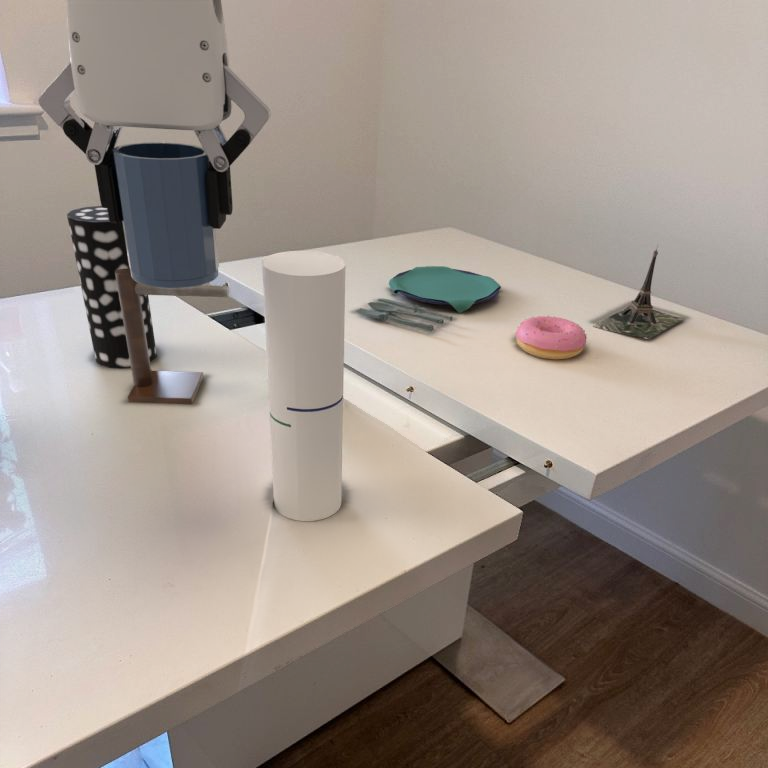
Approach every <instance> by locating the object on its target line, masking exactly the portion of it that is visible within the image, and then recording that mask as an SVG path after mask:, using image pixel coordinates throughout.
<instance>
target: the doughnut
mask: <svg viewBox="0 0 768 768" xmlns="http://www.w3.org/2000/svg"><path fill="white" fill-rule="evenodd" d="M587 335H588V334H586V331H585V329H583V327H582V326H581V325H580V324H578V323H576V322H574V321H572V320H569V319H567V318H563V317H557V316H550V315H542V316H540V315H539V316H532V317H529V318H526V319H525V320H523V321H522V322H520V323H519V325H517V329H516V331H515V336H516V338H515V339H516V343H517V345H518V346H519V348H520V349H521V350H523V351H524V352H525V353H527V354H529V355H531V356H533V357H538V358H541V359H546V360H566V359H570V358H573V357H576V356H577V355H579V354H580V353H582V351H583V350H584V348H585V345H586V344H587V339H588V337H587Z"/></svg>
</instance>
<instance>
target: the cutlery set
mask: <svg viewBox="0 0 768 768" xmlns="http://www.w3.org/2000/svg"><path fill="white" fill-rule="evenodd" d="M388 286H389V287H390V288H391V290H392V291H393V293H394V294H398V293H399V294H401V295H402V296H405V297H407V298H408V299H412V300H415V301H418V302H422V303H428V304H432V305H443V306H452V307H453V308H454V310H455V311H456V312H457V313H458V314H461V313H464V312H466V311H467V310H468V309H470V308H472V306H473V305H474V304H475V305H476V304H481V303H484V302H487V301H490V300H493V299H495V298H496V296H497V295H498V294H499V293H500V290H501V289H502V286H501V285H500V283H498V282H497V281H496V280H495V279H494V278H492V277H490V276H489V275H483V274H480V273H475V272H472V271H468V270H462V269H456V268H452V267H449V266H445V265H444V266H443V265H441V266H440V265H437V266H436V265H427V266H415V267H414V268H412V269H408V270H405V271H402V272H399V273H397V274H396V275H395V276H393V277H392V278H390V279H389V281H388ZM377 300H378V301H369V302H368V303H367V305H368V306H369V307H370V309H372V310H368V309H364V308H362V307H360V308H359V309H357V310H356V309H355V312H357V313H358V314H361V315H365V316H369V317H371V318H373V319H376V320H379V321H387V320H391V321H394V322H396V323H398V324H400V325H404V326H408V327H411V328H412V327H413V328H418V329H422V330H425V331H428V332H433V331H434V324H430V323H429V324H428V323H426V322H425V323H424V322H418V321H412V320H407V319H402V318H400V317H397V316H395V315H392V314H398V315H404V316H408V317H414V318H417V319H422V320H426V321H429V322H433V323H435V324H437V325H442V324H444V320H445V319H447V320H449V322H452V321H453V315H452V316H450V315H444V314H442V313H441V314H440V313H439V312H438V313H437V312H435V311H431V310H428V309H427V308H425V307H419V305H415V306H412V305H411V304H406V303H403V302H399V301H395V300H391V299H387V298H378V299H377ZM397 307H401V308H403V309H408V310H411V311H413V312H408V311H399V309H398V308H397ZM417 312H418V313H417ZM425 313H427V314H431V315H435V316H438V317H435V316H430V315H424V314H425ZM441 317H442V318H441Z"/></svg>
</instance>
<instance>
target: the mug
mask: <svg viewBox="0 0 768 768" xmlns="http://www.w3.org/2000/svg"><path fill="white" fill-rule="evenodd" d="M112 155H113V161H114V168H115V175H116V181H117V188H118V195H119V202H120V208H121V215H122V222H123V228H124V235H125V242H126V248H127V255H128V262H129V267H130V271H131V277H132V278H133V279H134V280H135V281H137V282H139V283H141V284H144V285H148V286H153V287H160V288H185V287H193V286H199V285H207V284H208V283H211V282H213V281H215V280H216V279H218V277H219V273H220V270H219V267H220V261H219V259H220V258H219V248H218V236H217V235H218V233H217V229H214V228H213V227H211V226H210V221H209V209H208V197H207V186H206V172H207V171H209V170H210V165H209V161H210V160H209V158H208V156H207V154H206V152H205V150H204V148H203V147H202V146H198V145H196V144H188V143H179V142H178V143H177V142H165V141H164V142H162V141H161V142H160V141H159V142H157V141H156V142H153V141H152V142H151V141H150V142H136V143H135V142H134V143H127V144H121V145H117V146H116V147H115V148H114V149H112Z"/></svg>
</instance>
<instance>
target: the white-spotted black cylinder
mask: <svg viewBox="0 0 768 768" xmlns="http://www.w3.org/2000/svg"><path fill="white" fill-rule="evenodd" d="M66 216H67V223H68V227H69V233H70V238H71V242H72V247H73V252H74V257H75V263H76V267H77V273H78V278H79V282H80V289H81V293H82V298H83V303H84V308H85V313H86V318H87V323H88V329H89V334H90V338H91V344H92V349H93V354H94V359H95V362H96V363H97V364H98V365H100V366H102V367H104V368H110V369H121V370H123V369H124V370H125V369H131V364H130V358H129V352H128V346H127V341H126V335H125V329H124V323H123V317H122V311H121V305H120V299H119V293H118V288H117V282H116V276H115V271H116V270H119V269H130V267H129V262H128V255H127V248H126V242H125V235H124V228H123V222H122V221H121V222H119V223H110V221H109V216H108V210H107V208H103V207H102V205H94V206H85V207H78V208H75V209H72V210H70V211H68V212H67V213H66ZM140 301H141V307H142V314H143V320H144V327H145V333H146V340H147V346H148V353H149V359H150V363H152V362H153V361H154V360H156V358H157V355H158V352H157V346H156V340H155V333H154V327H153V325H154V324H153V320H152V312H151V311H152V310H151V306H150V305H151V304H150V299H149V295H140Z"/></svg>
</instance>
